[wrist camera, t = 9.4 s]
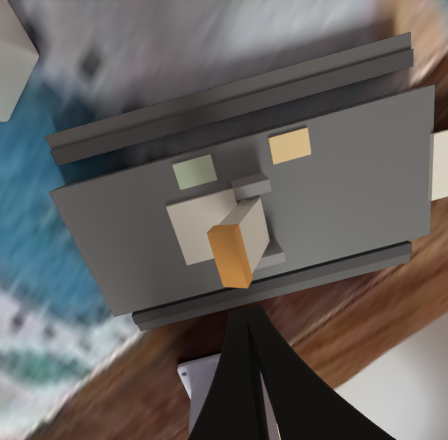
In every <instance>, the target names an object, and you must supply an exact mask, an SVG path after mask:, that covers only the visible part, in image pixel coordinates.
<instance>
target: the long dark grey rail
mask: <svg viewBox="0 0 448 440" xmlns="http://www.w3.org/2000/svg"><path fill="white" fill-rule="evenodd" d="M412 66H413V49H411V32H408V33H404V34H401V35H397V36H394V37H390V38H387V39H383V40H380V41H376V42H373V43H369V44H366V45H362V46H359V47H355V48H352V49H348V50H345V51H341V52H338V53H334V54H331V55H327V56H324V57H320V58H317V59H313V60H310V61H306V62H303V63H299V64H296V65H292V66H289V67H285V68H282V69H278V70H275V71H271V72H267V73H264V74H260V75H257V76H253V77H250V78H246V79H243V80H239V81H236V82H232V83H229V84H225V85H222V86H218V87H215V88H211V89H208V90H204V91H201V92H197V93H194V94H190V95H187V96H183V97H180V98H176V99H173V100H169V101H166V102H162V103H159V104H155V105H152V106H148V107H145V108H141V109H138V110H134V111H130V112H127V113H123V114H120V115H116V116H113V117H109V118H106V119H102V120H99V121H95V122H92V123H88V124H85V125H81V126H78V127H74V128H71V129H67V130H64V131H60V132H57V133H53V134H50V135H46V136H45V138H46V140H47V142H48V144H49V146H50V148H51V150H52V151H50V152H51V154H52V156H53V158H54V160H55V162H56V164H57V166H60V165H63V164H67V163H70V162H74V161H77V160H81V159H84V158H88V157H92V156H95V155H99V154H102V153H106V152H109V151H113V150H117V149H120V148H124V147H127V146H131V145H134V144H138V143H141V142H145V141H149V140H152V139H156V138H159V137H163V136H166V135H170V134H174V133H177V132H181V131H184V130H188V129H191V128H195V127H198V126H202V125H206V124H209V123H213V122H216V121H220V120H223V119H227V118H231V117H234V116H238V115H241V114H245V113H248V112H252V111H255V110H259V109H263V108H266V107H270V106H273V105H277V104H280V103H284V102H288V101H291V100H295V99H298V98H302V97H305V96H309V95H312V94H316V93H320V92H323V91H327V90H330V89H334V88H337V87H341V86H345V85H348V84H352V83H355V82H359V81H362V80H366V79H369V78H373V77H377V76H380V75H384V74H387V73H391V72H394V71H398V70H402V69H405V68H409V67H412Z"/></svg>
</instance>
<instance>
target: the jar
mask: <svg viewBox="0 0 448 440" xmlns="http://www.w3.org/2000/svg"><path fill="white" fill-rule="evenodd" d="M38 59H39V54H38V52H37V50H36V49H35V47H34V45H33V43H32V42H31V40H30V38H29V37H28V35H27V33H26V31H25V30H24V28H23V26H22V25H21V23H20V21H19V19H18V18H17V16H16V14H15V13H14V11H13V9H12V7H11V6H10V4H9V2H8V0H0V122H7V121H8V120H9V119H10V117H11V115H12V113H13V111H14V108H15V106H16V104H17V102H18V100H19V98H20V96H21V94H22V92H23V90H24V88H25V86H26V84H27V81H28V79H29V77H30V75H31V73H32V71H33V69H34V67H35V65H36V63H37V61H38Z"/></svg>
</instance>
